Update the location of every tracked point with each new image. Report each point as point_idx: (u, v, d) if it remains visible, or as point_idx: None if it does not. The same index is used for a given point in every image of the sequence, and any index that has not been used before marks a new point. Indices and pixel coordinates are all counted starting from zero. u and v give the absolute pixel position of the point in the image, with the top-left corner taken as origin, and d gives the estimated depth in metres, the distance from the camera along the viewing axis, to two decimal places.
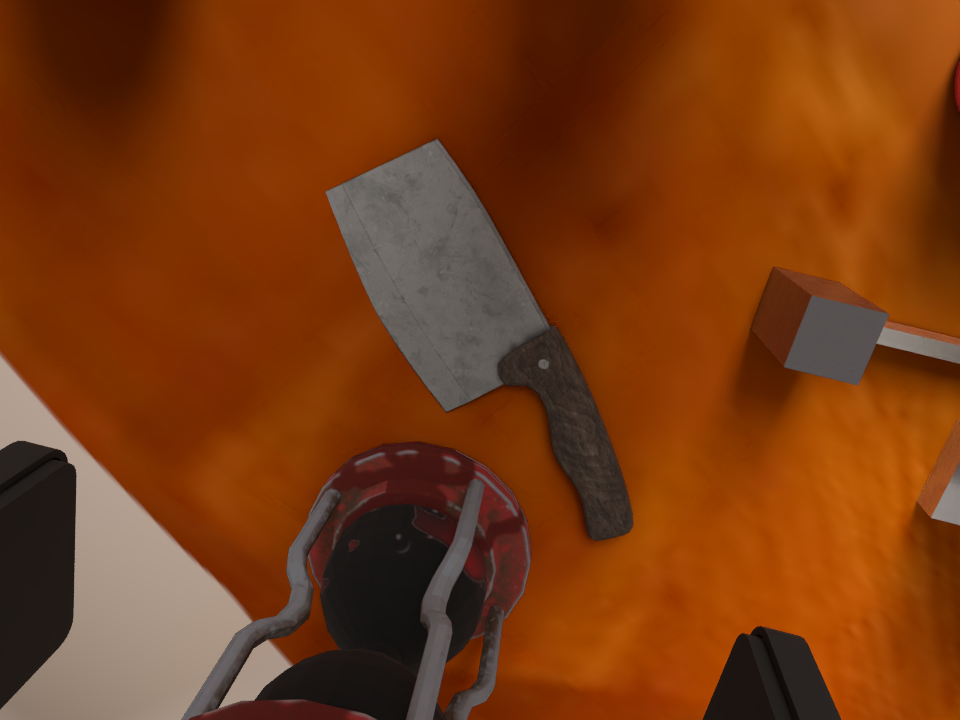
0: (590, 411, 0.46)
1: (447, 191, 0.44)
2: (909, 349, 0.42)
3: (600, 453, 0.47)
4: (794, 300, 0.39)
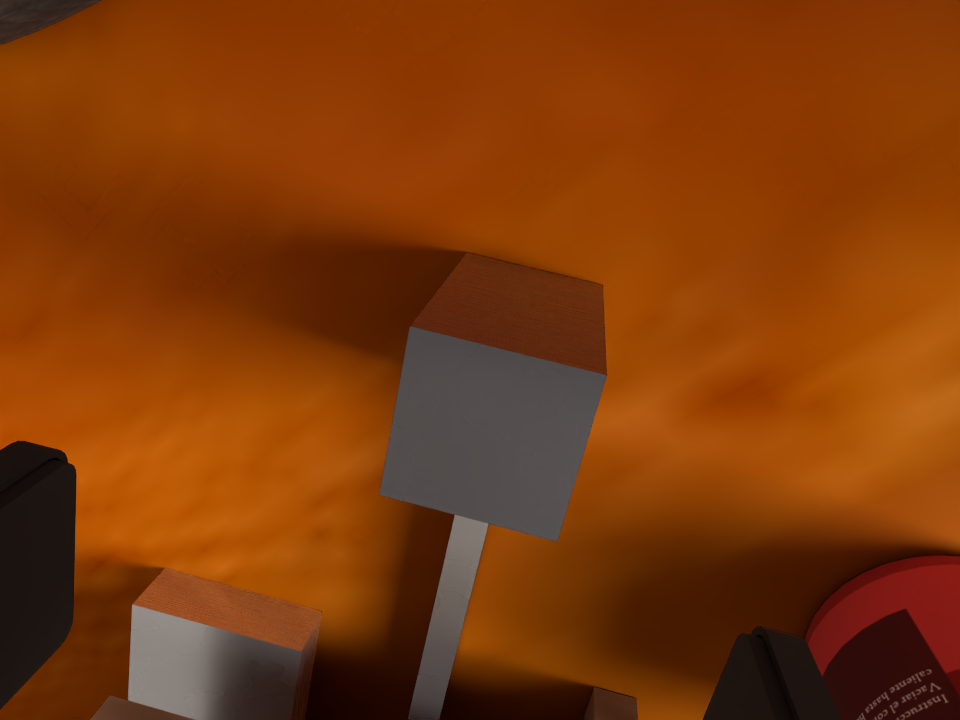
0: None
1: None
2: (451, 548, 0.21)
3: None
4: (570, 334, 0.16)
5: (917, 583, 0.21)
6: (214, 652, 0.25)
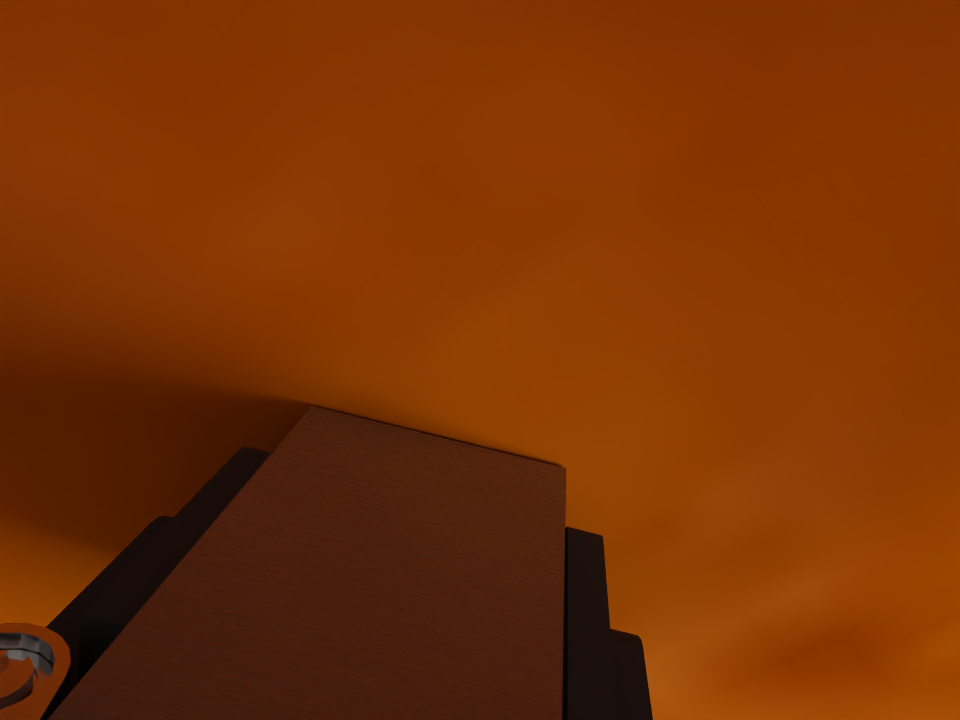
0: None
1: None
2: None
3: None
4: None
5: None
6: None
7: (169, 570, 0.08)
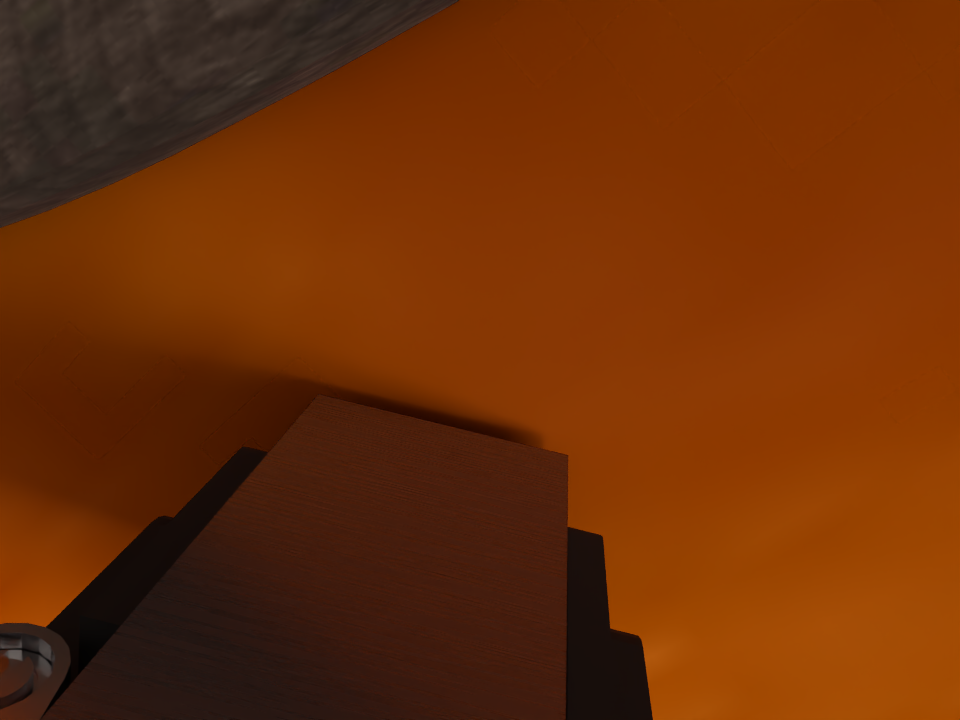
0: None
1: None
2: None
3: (224, 30, 0.09)
4: (479, 690, 0.07)
5: None
6: None
7: None
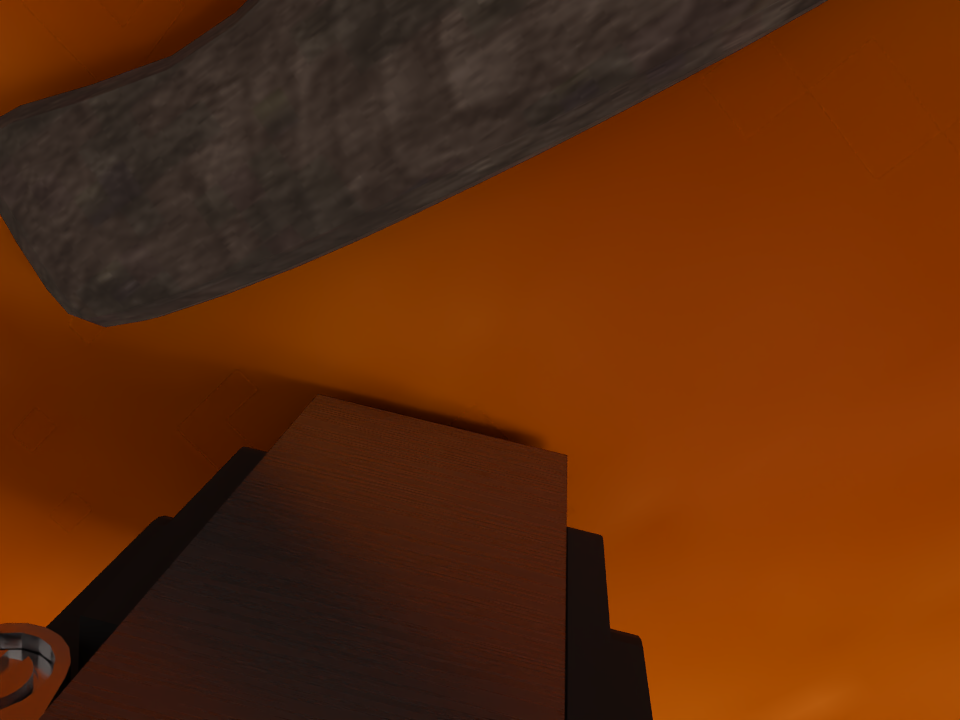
0: (713, 32, 0.08)
1: None
2: None
3: (464, 119, 0.09)
4: (478, 690, 0.07)
5: None
6: None
7: None
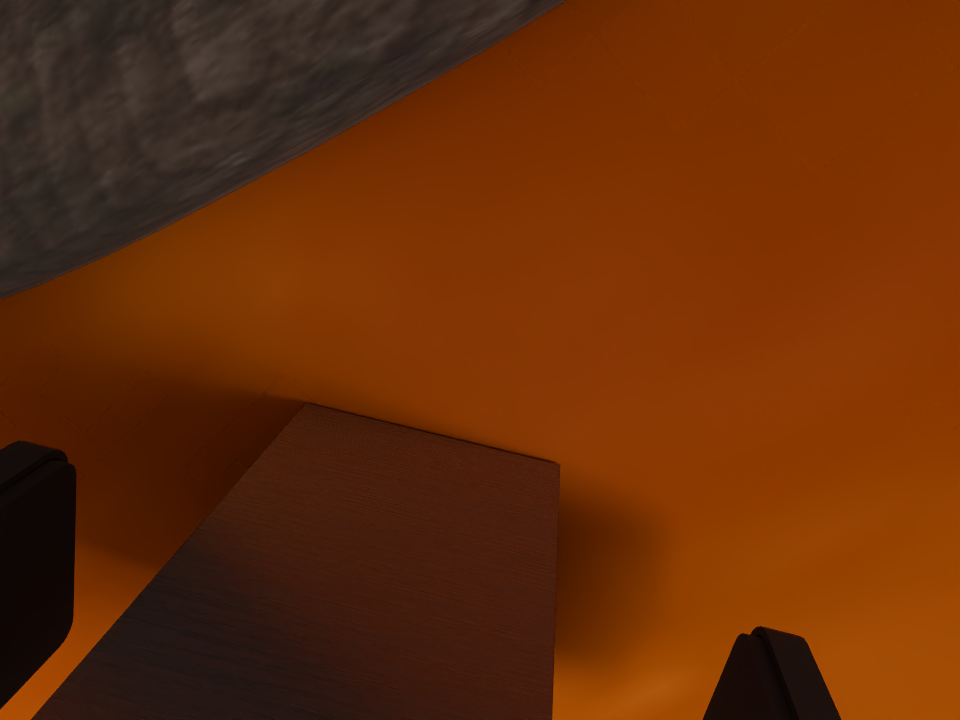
0: (448, 19, 0.08)
1: None
2: None
3: (207, 111, 0.08)
4: (462, 716, 0.06)
5: None
6: None
7: None
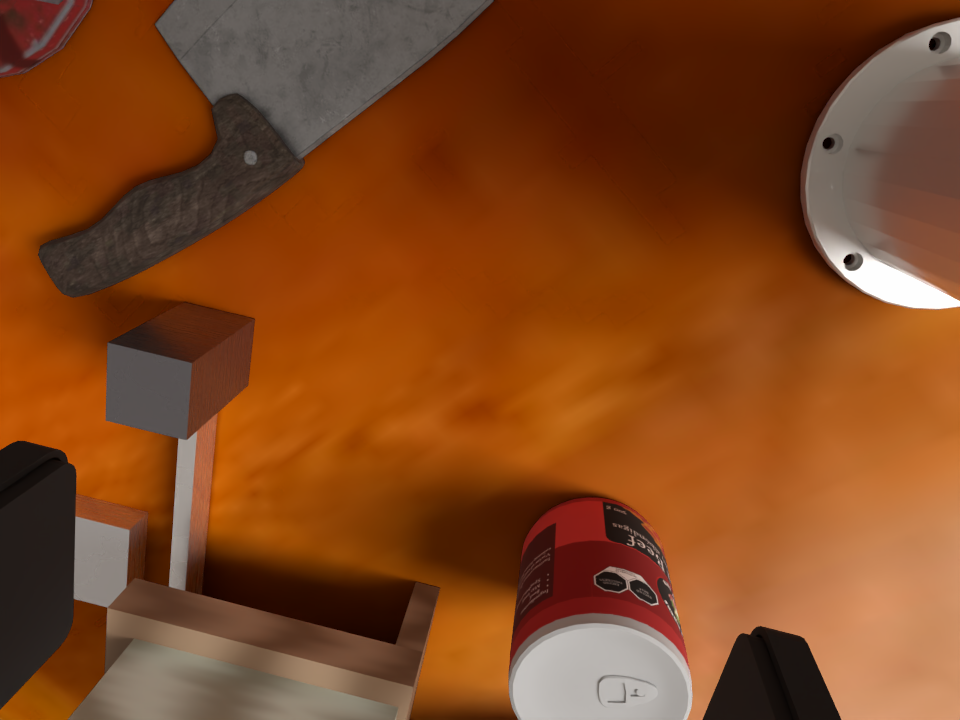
0: (204, 226, 0.37)
1: None
2: (179, 459, 0.40)
3: (153, 245, 0.37)
4: (195, 345, 0.35)
5: (566, 510, 0.39)
6: (80, 532, 0.43)
7: None
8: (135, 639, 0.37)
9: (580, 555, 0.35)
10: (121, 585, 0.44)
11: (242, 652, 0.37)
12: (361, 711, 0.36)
